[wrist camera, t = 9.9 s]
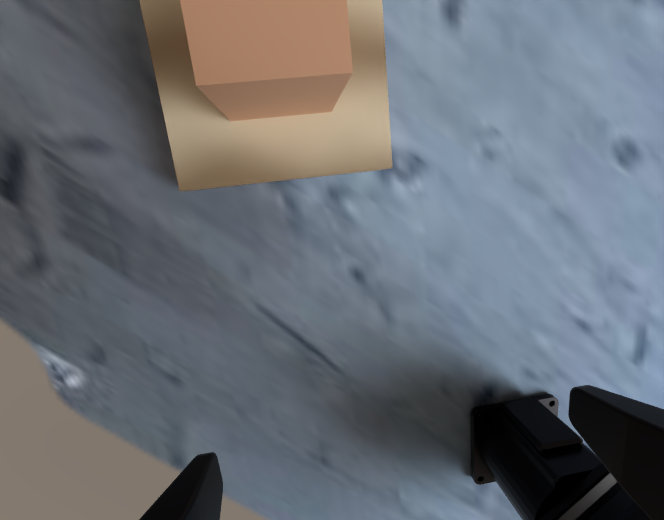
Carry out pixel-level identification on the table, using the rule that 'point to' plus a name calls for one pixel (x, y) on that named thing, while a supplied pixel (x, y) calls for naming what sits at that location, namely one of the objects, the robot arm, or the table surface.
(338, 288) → the table surface
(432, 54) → the table surface
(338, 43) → the block
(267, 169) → the base slab
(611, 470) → the robot arm
